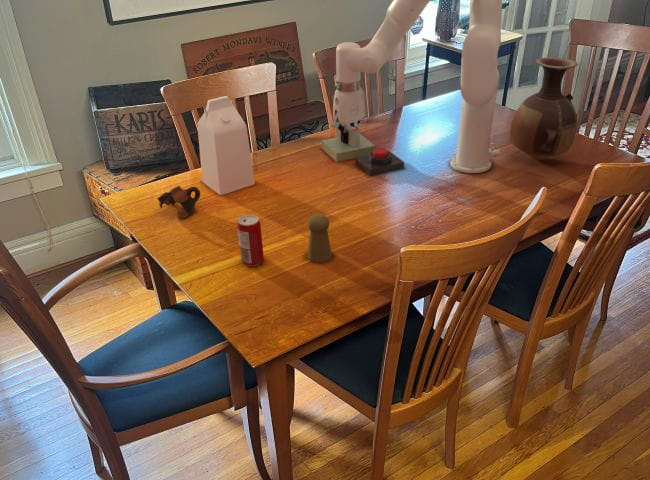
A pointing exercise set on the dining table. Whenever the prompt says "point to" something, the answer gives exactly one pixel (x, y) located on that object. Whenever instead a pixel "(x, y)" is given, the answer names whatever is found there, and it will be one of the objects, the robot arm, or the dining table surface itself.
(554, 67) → the vase
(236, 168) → the milk
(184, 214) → the brown animal figurine
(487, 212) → the dining table surface
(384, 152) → the tap button
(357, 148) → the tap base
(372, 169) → the button block
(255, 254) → the soda can
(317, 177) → the dining table surface
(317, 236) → the brown pawn
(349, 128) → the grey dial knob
